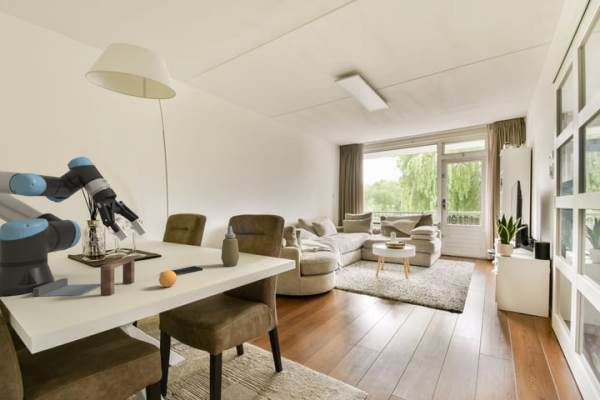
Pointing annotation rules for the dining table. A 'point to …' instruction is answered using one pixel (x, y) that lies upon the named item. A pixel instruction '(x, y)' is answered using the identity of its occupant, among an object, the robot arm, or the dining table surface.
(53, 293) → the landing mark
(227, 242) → the squeeze bottle
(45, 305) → the dining table surface
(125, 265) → the bridge
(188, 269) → the phone
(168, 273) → the ball
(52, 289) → the stopper wall
